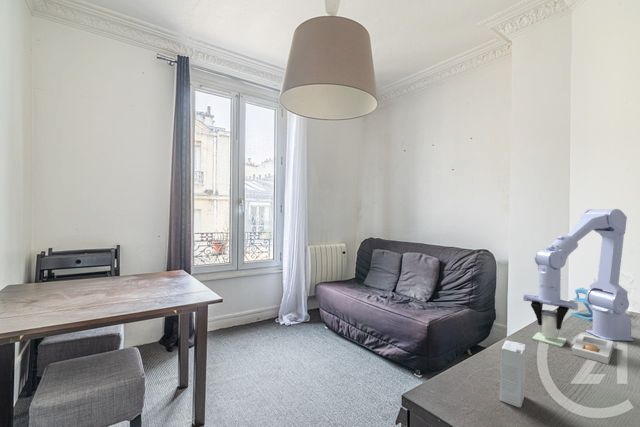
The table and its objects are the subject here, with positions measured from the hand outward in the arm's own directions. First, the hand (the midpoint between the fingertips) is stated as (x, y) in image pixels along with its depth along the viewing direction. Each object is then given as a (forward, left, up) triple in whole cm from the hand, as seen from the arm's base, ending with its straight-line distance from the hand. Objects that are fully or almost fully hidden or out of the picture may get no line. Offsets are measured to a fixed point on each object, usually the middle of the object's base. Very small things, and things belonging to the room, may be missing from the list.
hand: (549, 326), depth 102 cm
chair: (-32, -25, -5) cm, 41 cm away
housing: (-8, +8, -4) cm, 12 cm away
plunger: (-5, +11, -4) cm, 12 cm away
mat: (0, 0, -4) cm, 4 cm away
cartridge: (0, 0, -3) cm, 3 cm away
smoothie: (-42, -35, -5) cm, 55 cm away
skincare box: (+32, +34, -5) cm, 47 cm away
